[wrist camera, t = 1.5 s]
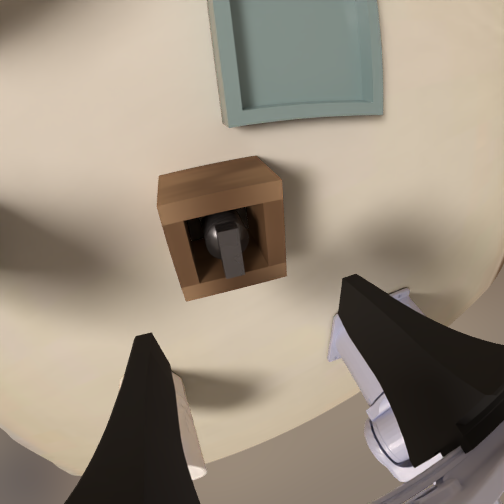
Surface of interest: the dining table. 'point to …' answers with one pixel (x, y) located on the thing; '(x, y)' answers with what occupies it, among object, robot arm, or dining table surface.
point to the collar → (219, 200)
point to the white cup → (187, 431)
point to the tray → (296, 59)
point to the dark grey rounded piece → (226, 240)
